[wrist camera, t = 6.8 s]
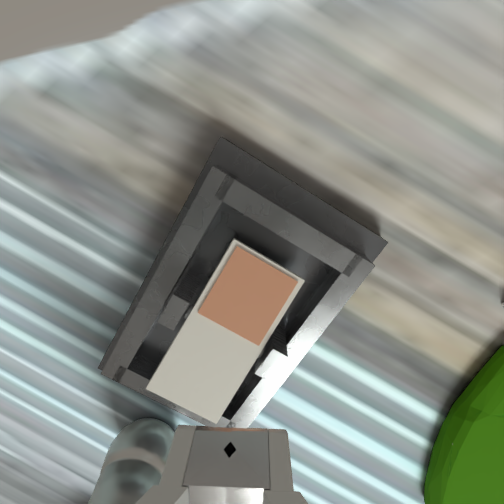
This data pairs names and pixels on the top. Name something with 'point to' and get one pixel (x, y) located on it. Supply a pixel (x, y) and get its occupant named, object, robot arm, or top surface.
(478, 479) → the spray bottle
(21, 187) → the top surface
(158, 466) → the plastic bottle
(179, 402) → the rocker
